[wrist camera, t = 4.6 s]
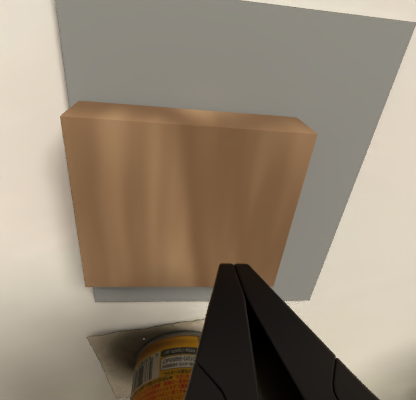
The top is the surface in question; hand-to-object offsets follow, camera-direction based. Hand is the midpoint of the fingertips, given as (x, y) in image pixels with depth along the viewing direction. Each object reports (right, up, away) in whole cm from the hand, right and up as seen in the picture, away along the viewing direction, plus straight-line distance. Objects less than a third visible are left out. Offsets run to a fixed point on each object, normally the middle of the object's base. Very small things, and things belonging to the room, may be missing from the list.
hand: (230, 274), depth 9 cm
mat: (0, +3, +5) cm, 6 cm away
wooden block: (+2, +2, +4) cm, 5 cm away
